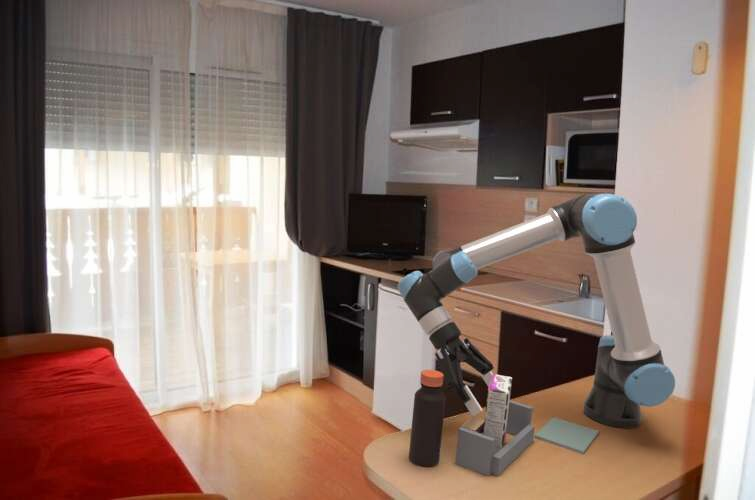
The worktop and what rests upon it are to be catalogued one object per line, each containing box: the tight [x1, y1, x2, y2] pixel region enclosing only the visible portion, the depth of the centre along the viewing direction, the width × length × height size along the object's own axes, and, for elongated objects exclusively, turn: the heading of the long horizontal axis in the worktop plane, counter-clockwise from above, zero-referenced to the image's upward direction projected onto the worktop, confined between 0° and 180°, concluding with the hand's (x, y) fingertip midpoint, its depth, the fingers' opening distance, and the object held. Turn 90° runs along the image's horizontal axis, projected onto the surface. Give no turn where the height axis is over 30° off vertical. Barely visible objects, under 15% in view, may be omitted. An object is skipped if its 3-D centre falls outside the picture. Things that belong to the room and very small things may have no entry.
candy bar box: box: [483, 373, 513, 456], centre depth 132 cm, size 11×5×16 cm, turn 163°
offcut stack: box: [460, 416, 485, 434], centre depth 135 cm, size 4×8×5 cm, turn 150°
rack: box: [454, 399, 536, 477], centre depth 132 cm, size 10×25×8 cm, turn 145°
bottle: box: [408, 369, 447, 467], centre depth 124 cm, size 7×7×20 cm
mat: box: [534, 416, 600, 455], centre depth 144 cm, size 12×15×1 cm
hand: (490, 404), depth 132 cm, fingers open, 13 cm apart
